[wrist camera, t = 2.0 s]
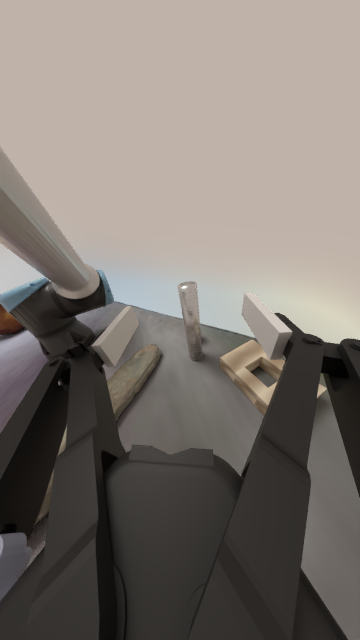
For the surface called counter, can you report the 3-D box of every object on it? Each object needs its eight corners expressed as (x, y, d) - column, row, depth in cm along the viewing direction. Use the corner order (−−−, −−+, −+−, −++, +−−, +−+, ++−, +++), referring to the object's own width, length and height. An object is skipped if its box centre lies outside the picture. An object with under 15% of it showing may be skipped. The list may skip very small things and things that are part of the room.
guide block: (219, 366, 31) (220, 357, 29) (249, 349, 34) (252, 339, 32) (279, 432, 20) (286, 424, 18) (317, 398, 23) (326, 388, 21)
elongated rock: (172, 357, 38) (147, 350, 42) (168, 344, 35) (142, 337, 40) (-11, 615, 13) (-20, 524, 17) (-73, 635, 10) (-63, 522, 15)
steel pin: (187, 354, 36) (174, 285, 24) (198, 349, 37) (190, 280, 25) (194, 363, 33) (182, 290, 22) (205, 357, 34) (200, 284, 23)
